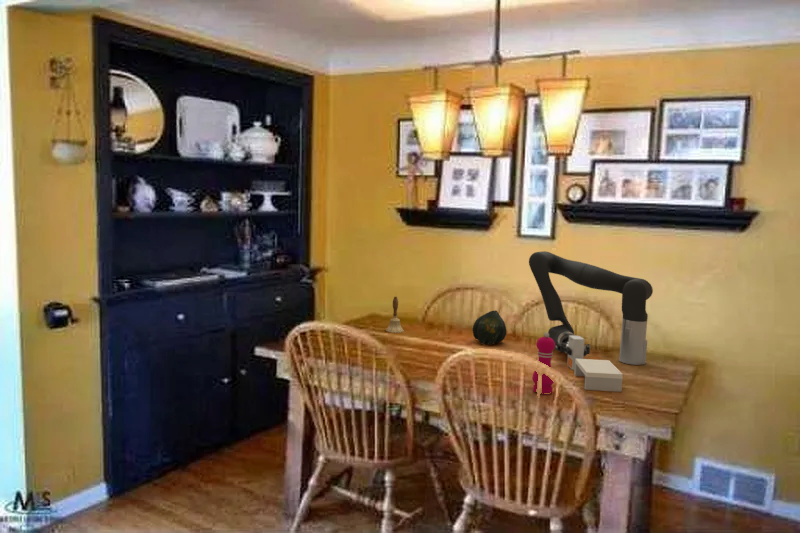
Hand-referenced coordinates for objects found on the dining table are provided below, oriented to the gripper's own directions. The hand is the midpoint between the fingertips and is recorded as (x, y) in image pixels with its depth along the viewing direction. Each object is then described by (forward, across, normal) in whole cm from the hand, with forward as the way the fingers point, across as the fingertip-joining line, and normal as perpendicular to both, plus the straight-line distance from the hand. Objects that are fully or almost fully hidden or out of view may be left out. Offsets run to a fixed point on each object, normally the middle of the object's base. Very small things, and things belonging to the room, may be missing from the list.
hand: (577, 352), depth 240 cm
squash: (-37, -30, +7) cm, 48 cm away
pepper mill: (+29, -17, +7) cm, 35 cm away
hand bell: (-51, -72, +7) cm, 88 cm away
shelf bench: (+15, +4, +7) cm, 17 cm away
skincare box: (-3, 0, +7) cm, 7 cm away
